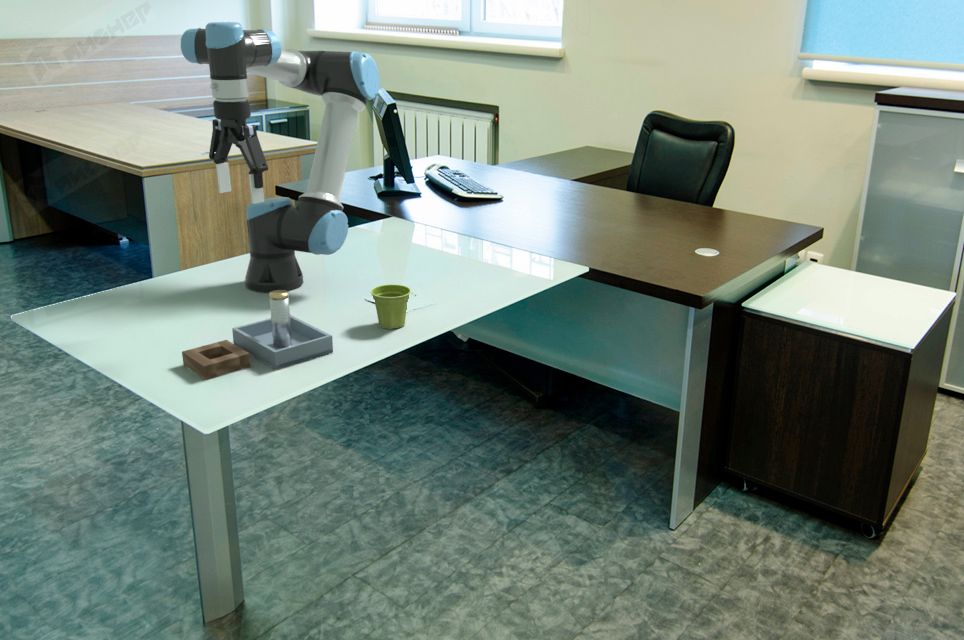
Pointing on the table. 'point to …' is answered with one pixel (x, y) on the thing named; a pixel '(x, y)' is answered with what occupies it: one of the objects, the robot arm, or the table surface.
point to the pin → (280, 318)
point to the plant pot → (391, 304)
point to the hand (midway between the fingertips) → (241, 197)
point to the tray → (304, 347)
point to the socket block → (216, 359)
